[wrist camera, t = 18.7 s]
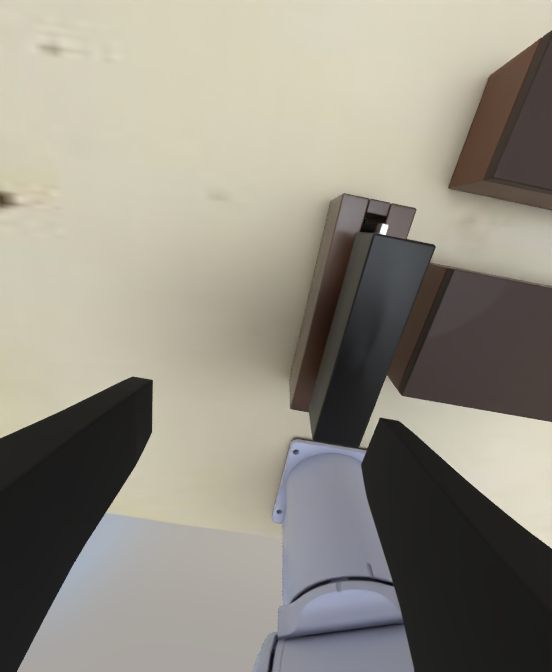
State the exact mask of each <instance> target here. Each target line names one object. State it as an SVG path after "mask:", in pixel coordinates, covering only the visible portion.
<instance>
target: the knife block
mask: <svg viewBox="0 0 552 672" xmlns="http://www.w3.org/2000/svg"><path fill="white" fill-rule="evenodd" d="M415 213H416V208H413V207H408V206H403V205H398V204H393V203H392V204H390V203H389V202H384V201H379V200H374V199H368V198H364V197H359V196H354V195H350V194H345V193H344V194H342V195H340V196H338V197H337V198H335V199H333V200H331V202H330V207H329V211H328V215H327V219H326V224H325V228H324V232H323V237H322V241H321V245H320V250H319V254H318V258H317V262H316V267H315V271H314V275H313V280H312V284H311V288H310V293H309V297H308V301H307V305H306V310H305V314H304V318H303V323H302V327H301V331H300V336H299V340H298V344H297V348H296V353H295V357H294V361H293V366H292V370H291V374H290V379H289V386H290V409H293V410H299V411H305V412H309V409H308V408H309V404H310V401H311V397H312V393H313V390H314V386H315V382H316V379H317V375H318V371H319V368H320V364H321V360H322V357H323V353H324V350H325V346H326V342H327V339H328V335H329V331H330V328H331V324H332V320H333V317H334V313H335V310H336V306H337V302H338V299H339V295H340V291H341V288H342V284H343V280H344V277H345V273H346V269H347V266H348V262H349V259H350V255H351V251H352V248H353V244H354V240H355V237H356V233H357V232H360V231H361V228H362V224H363V220H364V219H366V222H365V224H377V223H384V224H389V227H388V230H387V233H386V235H388V236H393V237H398V238H403V239H407V236H408V233H409V230H410V227H411V224H412V221H413V218H414V215H415Z"/></svg>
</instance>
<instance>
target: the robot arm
mask: <svg viewBox="0 0 552 672" xmlns="http://www.w3.org/2000/svg"><path fill="white" fill-rule="evenodd" d="M152 391H153V380H150V379H144V378H138V377H131V378H128V379H126V380H124V381H122V382H120V383H117V384H115V385H113V386H111V387H109V388H107V389H105V390H103V391H101V392H99V393H97V394H95V395H93V396H91V397H89V398H87V399H85V400H83V401H81V402H79V403H77V404H75V405H73V406H71V407H69V408H67V409H65V410H63V411H61V412H58V413H56V414H54V415H52V416H50V417H47V418H45V419H43V420H41V421H38V422H36V423H34V424H32V425H30V426H27V427H25V428H23V429H21V430H18V431H16V432H14V433H12V434H10V435H7V436H5V437H2V438H0V672H17V670H18V668H19V666H20V664H21V662H22V660H23V659H24V657H25V655H26V653H27V651H28V649H29V647H30V645H31V643H32V641H33V639H34V637H35V635H36V633H37V632H38V630H39V628H40V625H41V624H42V622H43V620H44V618H45V616H46V614H47V612H48V610H49V609H50V607H51V605H52V603H53V601H54V599H55V597H56V595H57V593H58V592H59V590H60V588H61V586H62V584H63V583H64V581H65V579H66V577H67V575H68V573H69V571H70V569H71V568H72V566H73V564H74V562H75V561H76V559H77V557H78V556H79V554H80V552H81V551H82V549H83V547H84V546H85V544H86V542H87V541H88V539H89V538H90V536H91V534H92V533H93V531H94V530H95V528H96V526H97V525H98V524H99V522H100V521H101V519H102V517H103V516H104V514H105V513H106V511H107V510H108V508H109V507H110V505H111V503H112V502H113V500H114V499H115V497H116V496H117V494H118V493H119V491H120V489H121V488H122V486H123V485H124V483H125V481H126V480H127V478H128V477H129V475H130V474H131V472H132V470H133V469H134V467H135V466H136V464H137V462H138V460H139V458H140V456H141V454H142V452H143V450H144V448H145V446H146V444H147V442H148V440H149V437H150V435H151V433H152ZM294 450H297V451H294ZM272 520H273V521H274V522H275V523H281V524H283V570H282V572H283V573H282V575H283V576H282V577H283V578H282V579H283V581H282V597H283V606H280V607H279V608H278V632H273V633H271V634H269V635H268V636H267V637H266V639H265V640H264V643H263V645H262V647H261V651H260V653H259V654H258V657H257V659H256V662H255V665H254V668H253V672H552V549H551V548H550V547H549V546H547V545H546V544H545V543H543V542H542V541H541V540H539V539H538V538H537V537H535V536H534V535H533V534H531V533H530V532H529V531H527V530H526V529H525V528H524V527H522V526H521V525H520V524H518V523H517V522H516V521H515V520H513V519H512V518H511V517H510V516H508V515H507V514H506V513H505V512H504V511H502V510H501V509H500V508H499V507H498V506H496V505H495V504H494V503H493V502H491V501H490V500H489V499H488V498H487V497H485V496H484V495H483V494H482V493H481V492H479V491H478V490H477V489H476V488H475V487H474V486H472V485H471V484H470V483H469V482H468V481H467V480H466V479H464V478H463V477H462V476H461V475H460V474H459V473H458V472H456V471H455V470H454V469H453V468H452V467H451V466H450V465H449V464H447V463H446V462H445V461H444V460H443V459H442V458H441V457H440V456H439V455H437V454H436V453H435V452H434V451H433V450H432V449H431V448H430V447H429V446H427V445H426V444H425V443H424V442H423V441H422V440H421V439H420V438H418V437H417V436H416V435H415V434H414V433H413V432H412V431H410V430H409V429H408V428H407V427H406V426H404V425H403V424H402V423H401V422H399V421H396V420H390V419H384V418H380V419H379V422H378V424H377V427H376V429H375V431H374V434H373V436H372V439H371V441H370V444H369V446H368V449H367V451H366V450H360V449H354V448H348V447H342V446H336V445H330V444H324V443H318V442H312V441H306V440H300V439H295V440H293V441H292V442H291V444H290V448H289V452H288V456H287V460H286V463H285V467H284V471H283V475H282V479H281V483H280V486H279V490H278V494H277V498H276V502H275V506H274V509H273V513H272Z"/></svg>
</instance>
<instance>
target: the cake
mask: <svg viewBox="0 0 552 672" xmlns="http://www.w3.org/2000/svg"><path fill="white" fill-rule="evenodd" d="M387 376H388V377H389V378H390V380H391V381H392V383H393V384H394V386H395V387H396V388H397V390H398V391H399V393H400V394H401V395H402V396H406V397H412V398H418V399H423V400H429V401H435V402H441V403H446V404H452V405H458V406H463V407H469V408H475V409H481V410H486V411H492V412H498V413H503V414H509V415H515V416H521V417H526V418H532V419H538V420H544V421H549V422H552V287H551V286H546V285H541V284H536V283H531V282H526V281H521V280H516V279H511V278H505V277H500V276H495V275H490V274H485V273H480V272H475V271H470V270H465V269H460V268H455V267H450V266H445V265H440V264H434V263H429V265H428V268H427V271H426V273H425V276H424V279H423V281H422V284H421V286H420V289H419V292H418V294H417V297H416V299H415V302H414V305H413V307H412V310H411V313H410V315H409V318H408V320H407V323H406V326H405V328H404V331H403V333H402V336H401V339H400V341H399V344H398V346H397V349H396V352H395V354H394V357H393V360H392V362H391V365H390V367H389V370H388V373H387Z"/></svg>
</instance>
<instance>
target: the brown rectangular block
mask: <svg viewBox="0 0 552 672" xmlns="http://www.w3.org/2000/svg"><path fill="white" fill-rule="evenodd" d="M449 189H454V190H459V191H464V192H468V193H473V194H478V195H483V196H488V197H492V198H497V199H502V200H507V201H512V202H516V203H521V204H526V205H531V206H535V207H540V208H545V209H550V210H552V31H550V32H549V33H547V34H546V35H545V36H543V38H540V39H539V40H538V41H536V42H535V43H534V44H532V45H531V46H529V47H528V48H527V49H525V50H524V51H523V52H521V53H520V54H519V55H517V56H516V57H514V58H513V59H512V60H510V61H509V62H508V63H506V64H505V65H504V66H502V67H501V68H500V69H498V70H497V71H495V72H494V73H493V74H491V75H490V77H489V80H488V83H487V85H486V88H485V91H484V94H483V96H482V99H481V102H480V104H479V107H478V110H477V112H476V115H475V118H474V121H473V123H472V126H471V129H470V131H469V134H468V137H467V139H466V142H465V145H464V148H463V150H462V153H461V156H460V158H459V161H458V164H457V166H456V169H455V172H454V175H453V177H452V180H451V183H450V185H449Z"/></svg>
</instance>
